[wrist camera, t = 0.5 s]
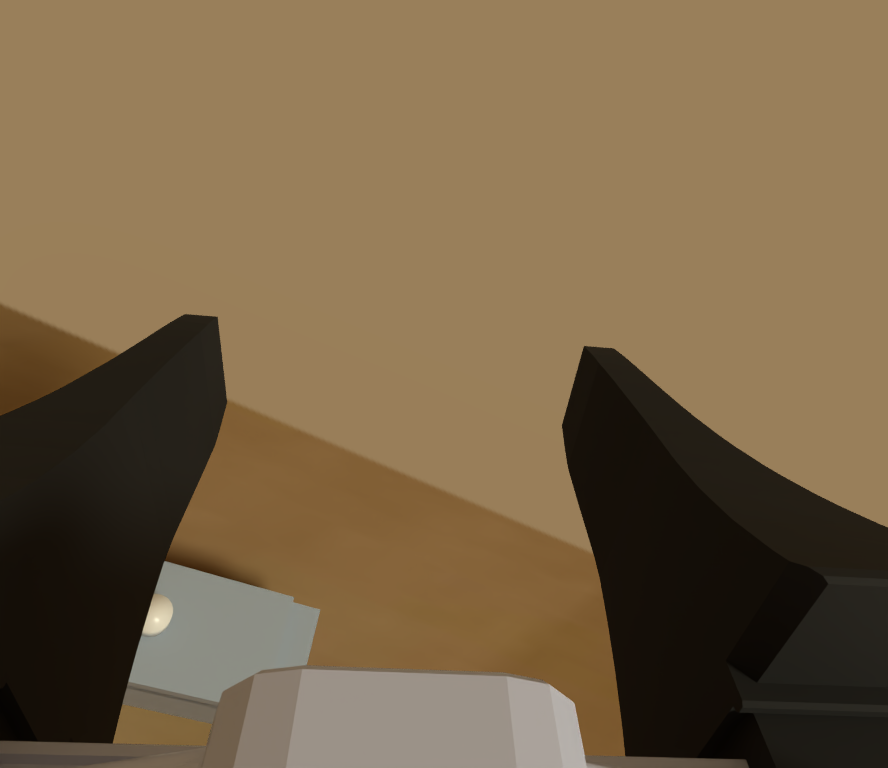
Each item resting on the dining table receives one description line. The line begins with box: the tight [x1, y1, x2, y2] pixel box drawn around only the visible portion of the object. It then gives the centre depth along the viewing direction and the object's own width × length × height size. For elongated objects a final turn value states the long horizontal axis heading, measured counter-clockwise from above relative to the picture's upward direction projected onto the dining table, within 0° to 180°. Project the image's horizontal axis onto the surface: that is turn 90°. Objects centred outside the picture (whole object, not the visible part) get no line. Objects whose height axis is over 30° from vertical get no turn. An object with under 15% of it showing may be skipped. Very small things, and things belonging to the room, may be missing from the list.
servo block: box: [123, 561, 320, 724], centre depth 23 cm, size 4×8×5 cm, turn 82°
